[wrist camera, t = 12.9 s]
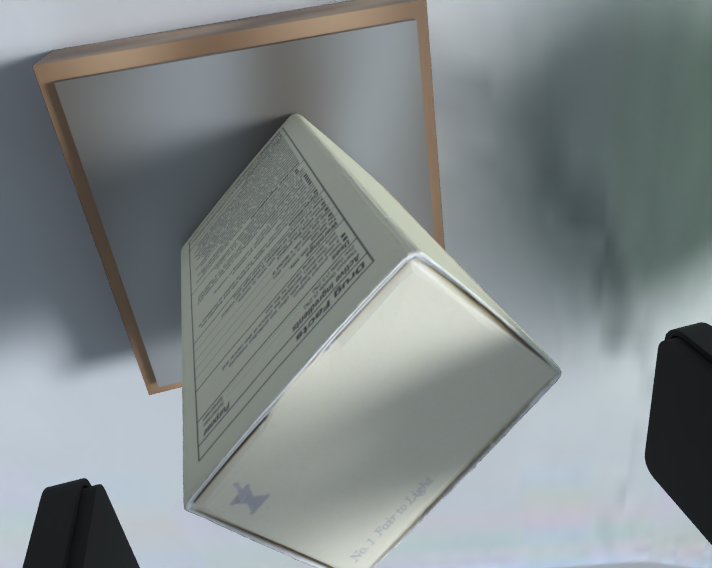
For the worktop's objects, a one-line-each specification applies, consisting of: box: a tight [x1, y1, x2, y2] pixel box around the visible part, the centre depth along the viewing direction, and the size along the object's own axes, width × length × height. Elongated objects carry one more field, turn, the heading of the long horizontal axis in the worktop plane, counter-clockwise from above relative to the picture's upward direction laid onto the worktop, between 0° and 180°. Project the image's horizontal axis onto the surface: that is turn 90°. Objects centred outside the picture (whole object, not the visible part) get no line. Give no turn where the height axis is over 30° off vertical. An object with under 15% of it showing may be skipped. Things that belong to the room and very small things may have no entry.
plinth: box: [32, 0, 445, 395], centre depth 24 cm, size 12×12×4 cm
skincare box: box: [181, 113, 561, 568], centre depth 17 cm, size 6×4×12 cm
